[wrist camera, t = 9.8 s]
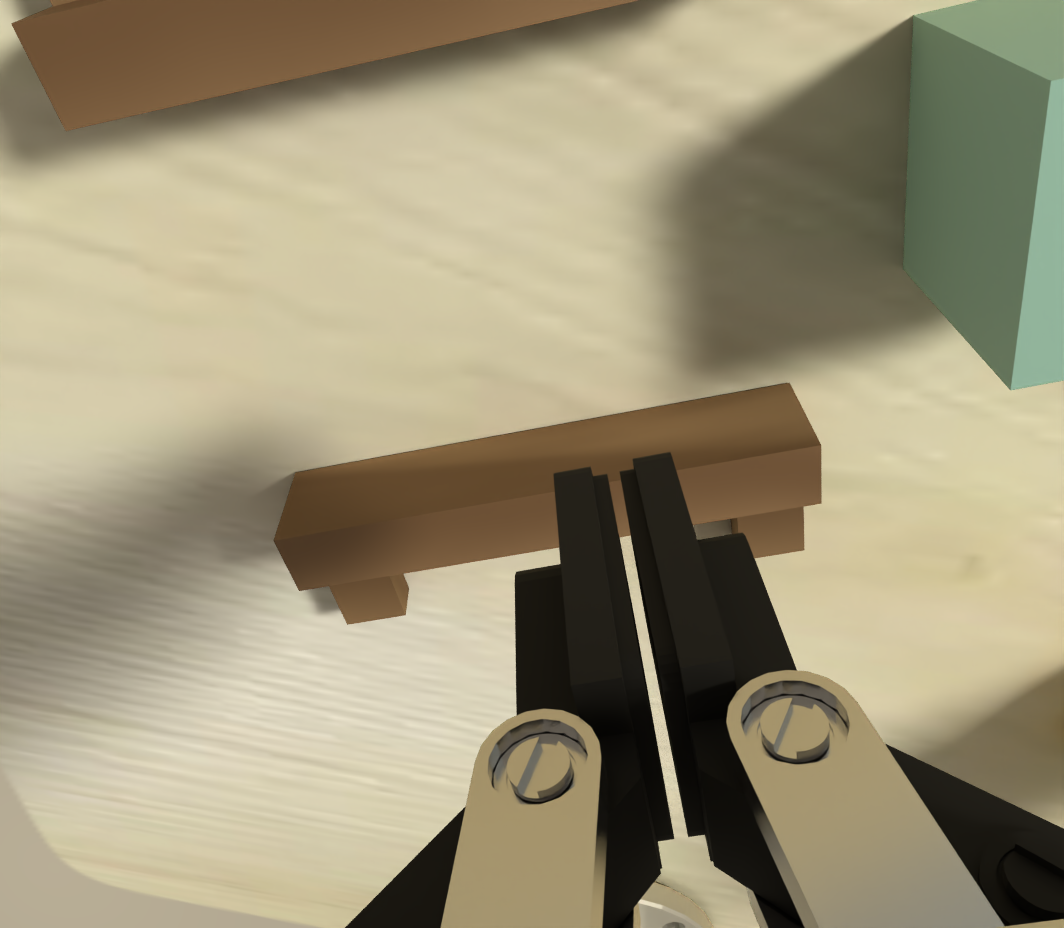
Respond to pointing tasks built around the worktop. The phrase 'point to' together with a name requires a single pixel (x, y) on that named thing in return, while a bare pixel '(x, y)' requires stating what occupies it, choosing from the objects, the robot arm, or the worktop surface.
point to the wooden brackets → (457, 469)
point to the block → (991, 180)
